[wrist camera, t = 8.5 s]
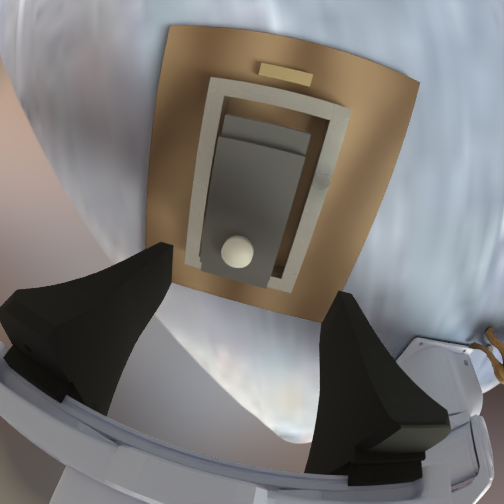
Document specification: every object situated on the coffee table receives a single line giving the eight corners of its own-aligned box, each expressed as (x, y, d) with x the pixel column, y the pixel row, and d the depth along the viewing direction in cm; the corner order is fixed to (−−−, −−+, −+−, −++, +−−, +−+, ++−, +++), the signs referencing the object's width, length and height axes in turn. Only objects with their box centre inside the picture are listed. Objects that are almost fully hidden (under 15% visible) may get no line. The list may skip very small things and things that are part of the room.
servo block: (308, 125, 16) (311, 138, 11) (274, 250, 20) (263, 301, 16) (244, 110, 16) (218, 116, 11) (220, 235, 21) (194, 281, 16)
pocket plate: (414, 82, 13) (429, 81, 11) (324, 315, 24) (325, 336, 22) (176, 28, 14) (159, 21, 12) (151, 268, 25) (138, 284, 23)
